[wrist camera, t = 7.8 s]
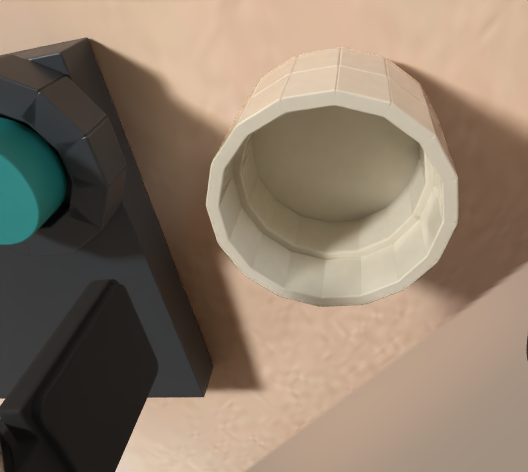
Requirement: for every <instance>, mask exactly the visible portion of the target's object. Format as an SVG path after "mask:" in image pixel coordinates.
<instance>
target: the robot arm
mask: <svg viewBox="0 0 528 472" xmlns="http://www.w3.org/2000/svg"><path fill="white" fill-rule="evenodd" d="M527 359H528V338H527ZM157 373H158V361H157V358H156V356H155V353H154V351H153V349H152V347H151V344H150V342H149V340H148V337H147V335H146V333H145V330H144V328H143V326H142V324H141V321H140V319H139V317H138V314H137V312H136V310H135V308H134V305H133V303H132V301H131V298H130V296H129V294H128V292H127V289H126V287H125V286H124V285H122V284H119V282H118V281H117V280H115V279H106V280H94V281H91V282H90V283H89V284H88V286H87V287H86V288H85V290H84V291H83V292H82V294H81V295H80V297H79V298H78V299H77V301H76V302H75V304H74V305H73V306H72V308H71V309H70V310H69V312H68V313H67V315H66V316H65V317H64V319H63V320H62V321H61V323H60V324H59V326H58V327H57V328H56V330H55V331H54V333H53V334H52V335H51V337H50V338H49V339H48V341H47V342H46V344H45V345H44V346H43V348H42V349H41V350H40V352H39V353H38V355H37V356H36V357H35V359H34V360H33V362H32V363H31V364H30V366H29V367H28V368H27V370H26V371H25V373H24V374H23V375H22V377H21V378H20V380H19V381H18V382H17V384H16V385H15V386H14V388H13V389H12V391H11V392H10V393H9V395H8V396H7V397H6V399H5V400H4V402H3V403H2V404H1V406H0V472H115V471H116V468H117V466H118V464H119V461H120V459H121V457H122V455H123V452H124V450H125V448H126V445H127V443H128V441H129V438H130V436H131V434H132V432H133V429H134V427H135V425H136V422H137V420H138V418H139V415H140V413H141V411H142V409H143V406H144V404H145V402H146V399H147V397H148V395H149V392H150V390H151V388H152V386H153V383H154V381H155V379H156V376H157Z"/></svg>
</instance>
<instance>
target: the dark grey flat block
mask: <svg viewBox="0 0 528 472" xmlns="http://www.w3.org/2000/svg"><path fill="white" fill-rule="evenodd" d="M0 118H5V119H9V120H13V121H16V122H18V123H20V124H23V125H24V126H26V127H28V128H30V129H31V130H33V131H34V132H36V133H37V134H38V135H39V136H41V137H42V138H43V139H44V140H45V141H46V142H47V143H48V144H49V145H50V146H51V148H52V149H53V150H54V151H55V153H56V154H57V156H58V158H59V159H60V161H61V163H62V166H63V168H64V171H65V175H66V180H67V190H66V196H65V198H64V201H63V202H62V204H61V206H60V207H59V208H58V209H57V210H56V211H55V212H54V213H53V214H52V215H51V216H50V217H49V218H48V220H47V221H46V222H45V223H44V224H43V225H42V226H41V227H40V228H39V229H38V230H37V231H36V232H35V233H34V234H33V235H32V236H31V237H30V238H29V239H27V240H25V241H23V242H20V243H17V244H12V245H0V398H6V397H7V396H8V395H9V393H10V392H11V391H12V389H13V388H14V386H15V385H16V384H17V382H18V381H19V380H20V378H21V377H22V375H23V374H24V373H25V371H26V370H27V368H28V367H29V366H30V364H31V363H32V362H33V360H34V359H35V357H36V356H37V355H38V353H39V352H40V350H41V349H42V348H43V346H44V345H45V344H46V342H47V341H48V339H49V338H50V337H51V335H52V334H53V333H54V331H55V330H56V328H57V327H58V326H59V324H60V323H61V321H62V320H63V319H64V317H65V316H66V315H67V313H68V312H69V310H70V309H71V308H72V306H73V305H74V304H75V302H76V301H77V299H78V298H79V297H80V295H81V294H82V292H83V291H84V290H85V288H86V287H87V286H88V284H89V283H90V282H91V281H94V280H106V279H115V280H117V281H118V282H119V284H122V285H124V286H125V287H126V289H127V292H128V294H129V296H130V298H131V301H132V303H133V305H134V308H135V310H136V312H137V314H138V317H139V319H140V321H141V324H142V326H143V328H144V330H145V333H146V335H147V337H148V340H149V342H150V344H151V347H152V349H153V351H154V353H155V356H156V358H157V361H158V373H157V376H156V379H155V381H154V383H153V386H152V388H151V390H150V392H149V395H148V397H147V398H152V397H204V396H205V392H206V389H207V386H208V383H209V379H210V376H211V373H212V370H213V364H212V361H211V359H210V356H209V353H208V351H207V348H206V346H205V343H204V340H203V338H202V335H201V332H200V330H199V327H198V325H197V322H196V319H195V317H194V314H193V311H192V309H191V306H190V304H189V301H188V298H187V296H186V293H185V291H184V288H183V285H182V283H181V280H180V277H179V275H178V272H177V270H176V267H175V264H174V262H173V259H172V257H171V254H170V251H169V249H168V246H167V243H166V241H165V238H164V236H163V233H162V230H161V228H160V225H159V223H158V220H157V217H156V215H155V212H154V209H153V207H152V204H151V202H150V199H149V196H148V194H147V191H146V189H145V186H144V183H143V181H142V178H141V175H140V173H139V170H138V168H137V165H136V162H135V160H134V157H133V155H132V152H131V149H130V147H129V144H128V141H127V139H126V136H125V134H124V131H123V128H122V126H121V123H120V121H119V118H118V115H117V113H116V110H115V107H114V105H113V102H112V100H111V97H110V94H109V92H108V89H107V87H106V84H105V81H104V79H103V76H102V73H101V71H100V68H99V66H98V63H97V60H96V58H95V55H94V53H93V50H92V47H91V45H90V42H89V39H88V38H82V39H77V40H72V41H67V42H62V43H58V44H53V45H48V46H43V47H38V48H34V49H29V50H24V51H19V52H14V53H10V54H5V55H0Z"/></svg>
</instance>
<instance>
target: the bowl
mask: <svg viewBox="0 0 528 472" xmlns="http://www.w3.org/2000/svg"><path fill="white" fill-rule="evenodd" d="M206 208H207V211H208V214H209V217H210V221H211V224H212V227H213V230H214V233H215V236H216V240H217V243H218V244H219V246H220V247H221V248H222V249H223V251H224V252H225V253H226V254H227V255H228V257H229V258H230V259H231V260H232V261H233V263H234V264H235V265H236V266H237V267H238V269H239V270H240V271H241V272H242V273H243V274H244V275H245V276H246V277H248V278H249V279H251V280H253V281H254V282H256V283H258V284H259V285H261V286H263V287H264V288H266V289H268V290H269V291H271V292H273V293H274V294H276V295H278V296H280V297H283V298H287V299H291V300H295V301H299V302H303V303H308V304H312V305H316V306H322V307H329V306H348V305H364V304H368V303H371V302H373V301H376V300H379V299H381V298H384V297H387V296H389V295H392V294H395V293H397V292H400V291H403V290H405V289H407V288H408V287H409V286H410V285H412V284H413V283H414V282H415V281H416V280H417V279H419V278H420V277H421V276H422V275H423V274H425V273H426V272H427V271H428V270H429V269H431V268H432V267H433V266H434V265H435V264H436V263H438V261H439V260H440V258H441V256H442V254H443V252H444V250H445V248H446V246H447V244H448V242H449V240H450V238H451V236H452V234H453V232H454V230H455V228H456V226H457V224H458V176H457V173H456V170H455V167H454V164H453V161H452V158H451V155H450V152H449V149H448V146H447V144H446V140H445V137H444V134H443V132H442V129H441V126H440V123H439V120H438V117H437V115H436V113H435V111H434V109H433V107H432V105H431V104H430V102H429V100H428V98H427V96H426V94H425V92H424V90H423V88H422V86H421V85H420V84H419V82H418V81H416V80H415V79H414V78H412V77H411V76H410V75H408V74H407V73H406V72H405V71H403V70H402V69H401V68H399V67H398V66H397V65H395V64H394V63H393V62H391V61H390V60H389V59H387V58H384V57H383V56H379V55H375V54H370V53H366V52H362V51H358V50H353V49H349V48H345V47H342V48H340V47H337V48H331V49H326V50H320V51H314V52H309V53H303V54H299V55H298V56H294V57H292V58H291V59H289V60H288V61H286V62H285V63H283V64H282V65H280V66H279V67H277V68H275V69H274V70H272V71H271V72H269V73H268V74H266V75H265V76H263V77H262V79H260V80H259V82H258V83H257V85H256V86H255V88H254V89H253V91H252V92H251V94H250V95H249V97H248V99H247V100H246V102H245V103H244V105H243V106H242V108H241V109H240V111H239V113H238V115H237V117H236V118H235V120H234V122H233V124H232V126H231V128H230V129H229V131H228V133H227V135H226V137H225V138H224V140H223V142H222V144H221V146H220V148H219V149H218V151H217V153H216V155H215V157H214V159H213V161H212V163H211V167H210V174H209V182H208V189H207V197H206Z"/></svg>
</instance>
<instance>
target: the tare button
mask: <svg viewBox="0 0 528 472" xmlns="http://www.w3.org/2000/svg"><path fill="white" fill-rule="evenodd" d="M66 190H67V180H66V175H65V171H64V168H63V166H62V163H61V161H60V159H59V158H58V156H57V154H56V153H55V151H54V150H53V149H52V148H51V146H50V145H49V144H48V143H47V142H46V141H45V140H44V139H43V138H42V137H41V136H39V135H38V134H37V133H36V132H34V131H33V130H31V129H30V128H28V127H26V126H24V125H23V124H20V123H18V122H16V121H13V120H9V119H5V118H0V245H12V244H17V243H20V242H23V241H25V240H27V239H29V238H30V237H31V236H32V235H33V234H34V233H35V232H36V231H37V230H38V229H39V228H40V227H41V226H42V225H43V224H44V223H45V222H46V221H47V220H48V218H49V217H50V216H51V215H52V214H53V213H54V212H55V211H56V210H57V209H58V208H59V207H60V206H61V204H62V202H63V201H64V198H65V196H66Z"/></svg>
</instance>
